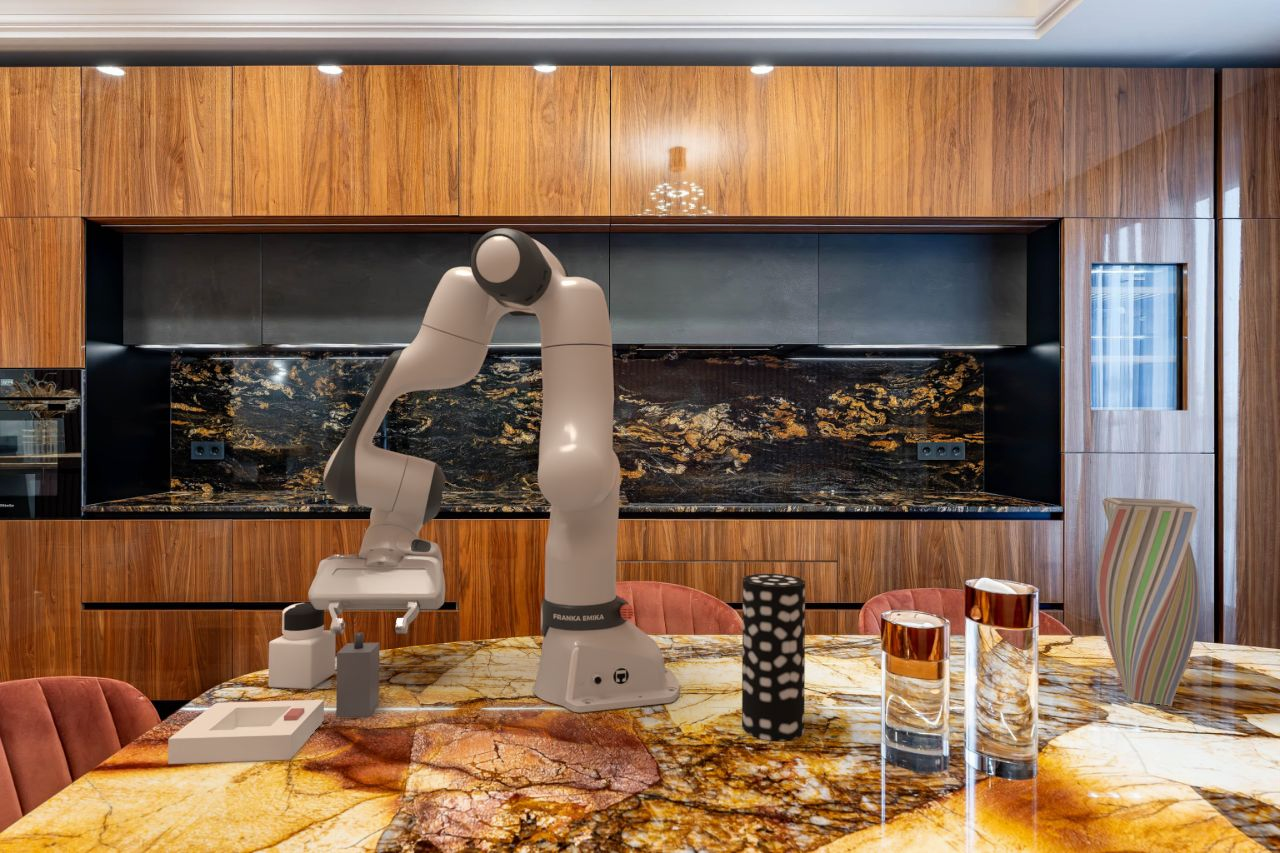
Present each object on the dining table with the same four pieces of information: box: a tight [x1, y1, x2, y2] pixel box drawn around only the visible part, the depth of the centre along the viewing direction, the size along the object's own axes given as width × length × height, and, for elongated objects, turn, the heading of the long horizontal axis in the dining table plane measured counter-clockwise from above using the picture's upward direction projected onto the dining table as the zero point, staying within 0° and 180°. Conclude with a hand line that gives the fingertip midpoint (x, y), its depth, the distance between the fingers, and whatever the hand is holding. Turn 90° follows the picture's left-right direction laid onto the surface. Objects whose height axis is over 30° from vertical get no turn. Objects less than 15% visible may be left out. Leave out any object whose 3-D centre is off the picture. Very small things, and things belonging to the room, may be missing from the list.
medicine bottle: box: [268, 602, 337, 690], centre depth 110 cm, size 7×7×12 cm
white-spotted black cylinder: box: [741, 573, 806, 742], centre depth 94 cm, size 8×8×20 cm
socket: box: [167, 699, 325, 765], centre depth 88 cm, size 14×11×4 cm
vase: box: [1095, 496, 1200, 707], centre depth 105 cm, size 14×14×30 cm
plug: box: [335, 631, 380, 718], centre depth 98 cm, size 4×4×11 cm
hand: (368, 631), depth 104 cm, fingers open, 8 cm apart
